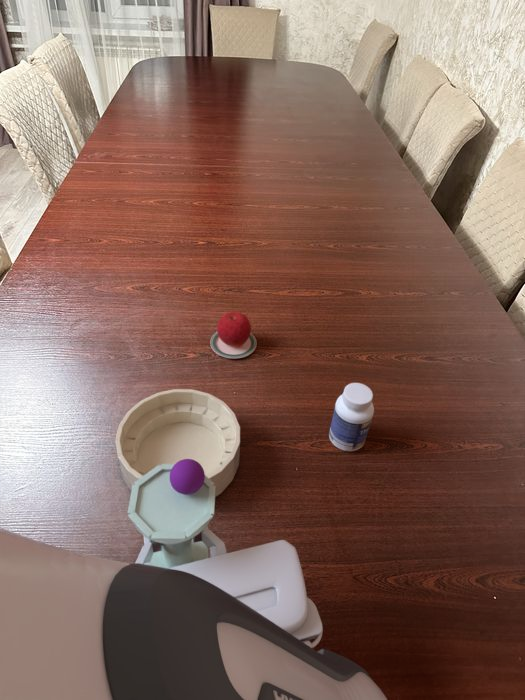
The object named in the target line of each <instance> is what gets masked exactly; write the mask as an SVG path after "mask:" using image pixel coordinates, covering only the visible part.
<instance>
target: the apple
mask: <svg viewBox="0 0 525 700" xmlns="http://www.w3.org/2000/svg"><path fill="white" fill-rule="evenodd" d="M216 330H217V331H216V332H215V333H213V335H212V336H211V338H210V341H209V342H210V347H211V349H212V351H213V353H215V354H216V355H218V356H220V357H222V358H225V359H233V360H234V359H235V360H236V359H242V358H246V357H248V356H249V355H251V354H253V353H254V352H255V350H256V348H257V339H256V337H255V336H254V334H253V333H252V326H251V322H250V320H249V318H248V317H247V316H246V315H245V314H243V313H241V312H236V311H232V312H231V311H230V312H227V313H225V314H223V315H222V316H221V317H220V319H219V321H218V323H217V328H216Z"/></svg>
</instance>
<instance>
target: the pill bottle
mask: <svg viewBox="0 0 525 700" xmlns="http://www.w3.org/2000/svg"><path fill="white" fill-rule="evenodd" d="M373 398H374V393H373V391H372V390H371V388H370V387H369V386H367V385H366V384H364V383H360V382H350V383H348V384H347V385H346V386H344V389H343V391H342V394H340V395H339V396H338V397H337V399H336V401H335V405H334V407H333V413H332V418H331V422H330V425H329V426H330V427H329V432H328V437H329V440H330V442H331V443H332V445H333V446H334V447H336V448H337V449H339V450H341V451H345V452H355V451H358V450H360V449H361V448H363V446H364V444H365V442H366V439H367V437H368V433H369V430H370V426H371V424H372V420H373V417H374V413H375V407H374V404H373Z"/></svg>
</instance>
